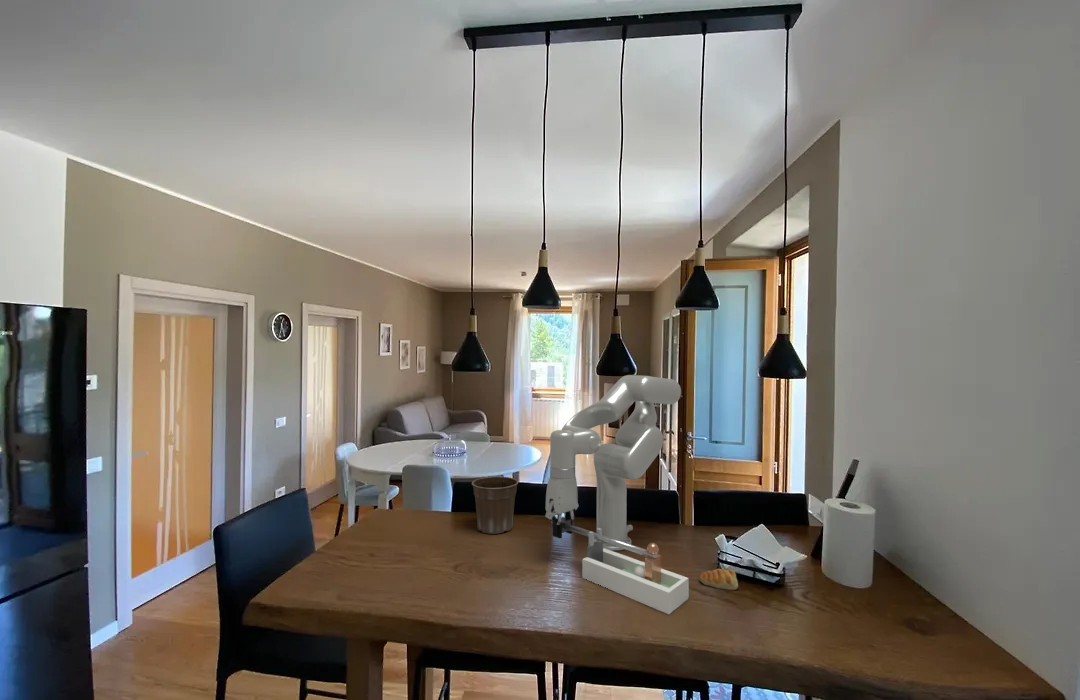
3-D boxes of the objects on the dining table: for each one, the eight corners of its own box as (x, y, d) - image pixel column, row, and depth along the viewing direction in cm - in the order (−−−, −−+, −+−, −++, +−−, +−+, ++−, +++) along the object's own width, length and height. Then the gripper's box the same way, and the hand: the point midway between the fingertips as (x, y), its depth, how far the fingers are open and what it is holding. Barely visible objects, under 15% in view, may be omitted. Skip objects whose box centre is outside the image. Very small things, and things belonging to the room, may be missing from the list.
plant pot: (472, 520, 167) (472, 476, 168) (516, 519, 169) (516, 475, 169) (470, 537, 151) (470, 488, 151) (519, 536, 153) (519, 487, 153)
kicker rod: (563, 545, 138) (563, 511, 138) (662, 582, 115) (662, 542, 115) (553, 549, 135) (553, 515, 135) (653, 588, 112) (653, 547, 112)
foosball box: (604, 565, 131) (604, 525, 131) (688, 598, 113) (688, 551, 113) (582, 577, 124) (582, 534, 124) (668, 614, 106) (668, 564, 106)
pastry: (702, 589, 118) (702, 574, 118) (696, 577, 125) (696, 563, 125) (740, 591, 117) (740, 576, 117) (732, 579, 124) (732, 565, 124)
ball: (645, 581, 118) (636, 566, 120) (656, 574, 116) (646, 560, 118) (637, 587, 115) (628, 571, 117) (647, 580, 113) (638, 564, 115)
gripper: (570, 465, 144) (570, 524, 144) (534, 475, 132) (533, 539, 132) (589, 469, 139) (589, 530, 139) (553, 480, 127) (553, 546, 127)
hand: (562, 534), depth 135 cm, fingers closed on kicker rod, 4 cm apart
